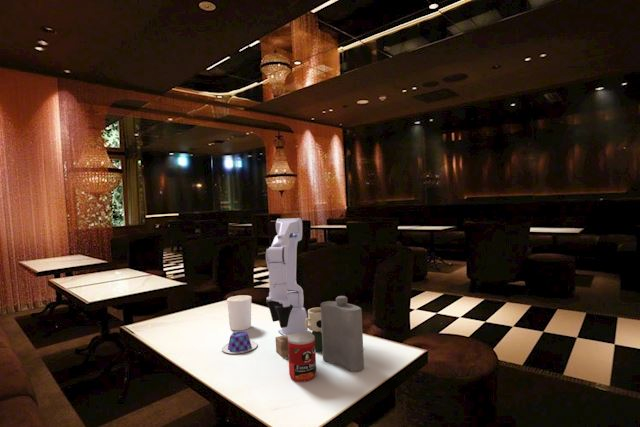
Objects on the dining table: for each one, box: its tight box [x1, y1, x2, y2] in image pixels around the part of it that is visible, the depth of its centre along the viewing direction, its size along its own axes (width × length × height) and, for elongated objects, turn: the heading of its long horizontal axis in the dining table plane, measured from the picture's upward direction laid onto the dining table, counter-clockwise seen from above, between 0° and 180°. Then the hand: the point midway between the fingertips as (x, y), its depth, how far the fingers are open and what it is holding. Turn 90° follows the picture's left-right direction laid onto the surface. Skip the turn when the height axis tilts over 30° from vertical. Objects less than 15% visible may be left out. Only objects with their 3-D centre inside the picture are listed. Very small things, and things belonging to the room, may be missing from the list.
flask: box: [320, 295, 365, 373], centre depth 109 cm, size 15×6×20 cm, turn 44°
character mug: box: [305, 306, 323, 351], centre depth 121 cm, size 11×7×13 cm, turn 128°
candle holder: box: [226, 294, 253, 332], centre depth 147 cm, size 10×10×12 cm
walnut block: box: [275, 334, 290, 358], centre depth 119 cm, size 5×5×5 cm
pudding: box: [221, 330, 258, 354], centre depth 125 cm, size 12×12×5 cm
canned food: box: [287, 332, 317, 383], centre depth 102 cm, size 8×8×11 cm
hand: (279, 323), depth 119 cm, fingers open, 7 cm apart
